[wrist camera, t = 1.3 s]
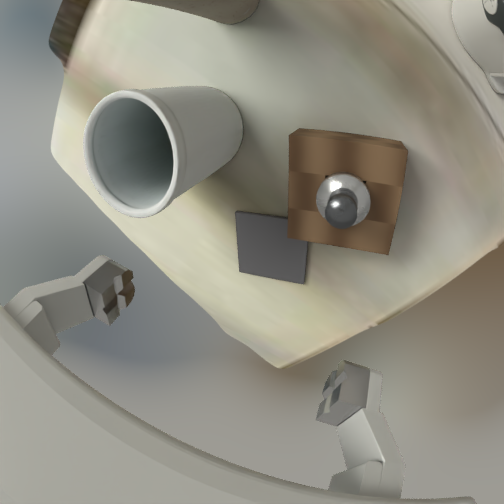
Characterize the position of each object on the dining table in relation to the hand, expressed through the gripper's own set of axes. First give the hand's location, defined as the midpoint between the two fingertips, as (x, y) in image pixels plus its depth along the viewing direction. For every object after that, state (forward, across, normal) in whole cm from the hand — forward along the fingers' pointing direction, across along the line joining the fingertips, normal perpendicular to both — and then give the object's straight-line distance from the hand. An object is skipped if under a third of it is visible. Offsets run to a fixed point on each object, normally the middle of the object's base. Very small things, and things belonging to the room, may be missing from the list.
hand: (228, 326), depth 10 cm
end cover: (+31, -4, +4) cm, 32 cm away
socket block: (+33, -4, +4) cm, 34 cm away
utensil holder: (+34, +19, +3) cm, 39 cm away
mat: (+34, +3, +20) cm, 39 cm away
